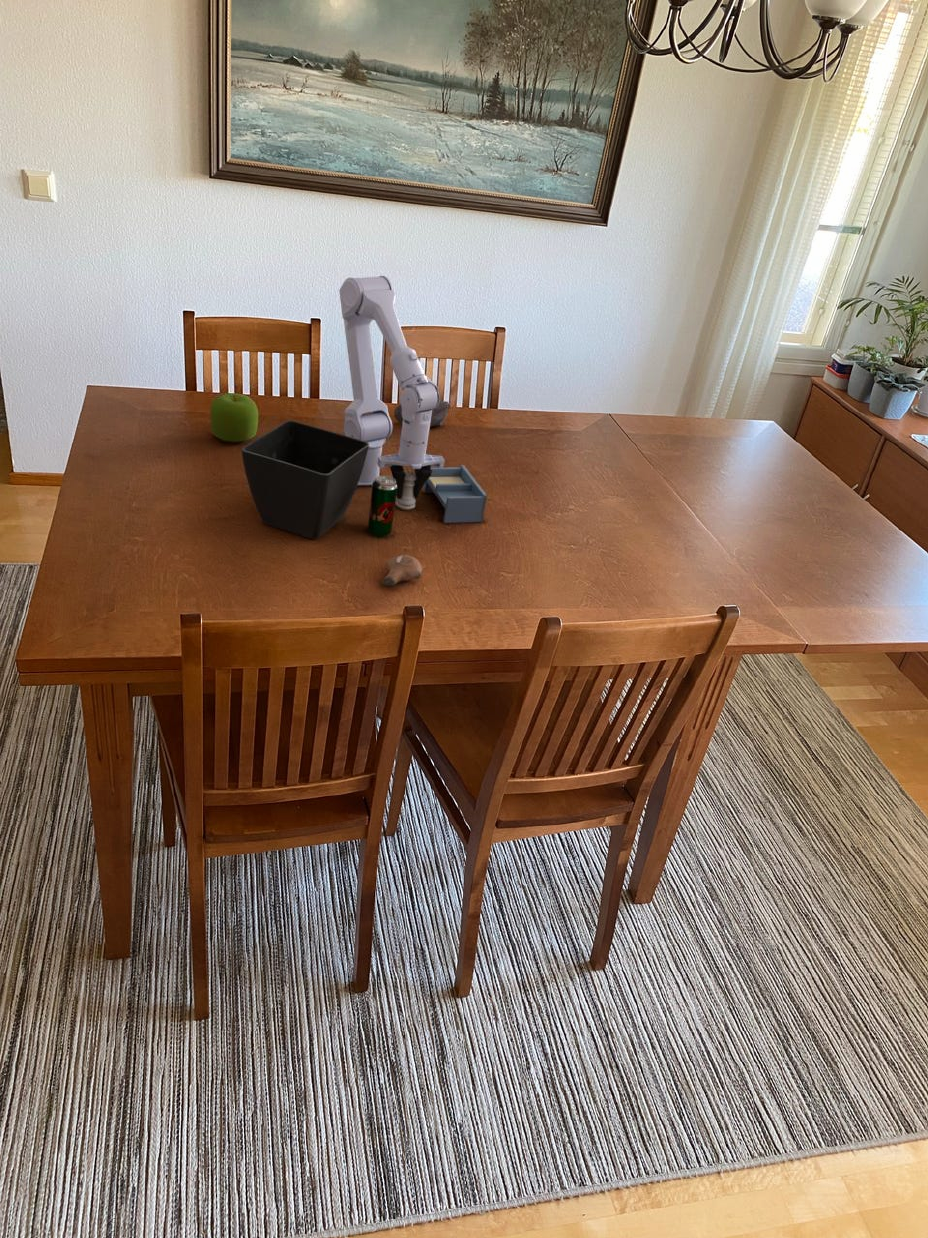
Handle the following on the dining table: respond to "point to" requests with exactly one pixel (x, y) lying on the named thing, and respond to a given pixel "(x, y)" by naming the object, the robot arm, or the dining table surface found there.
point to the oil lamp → (402, 570)
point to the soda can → (382, 506)
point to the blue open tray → (457, 494)
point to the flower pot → (303, 476)
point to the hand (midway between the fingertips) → (406, 496)
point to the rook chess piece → (407, 492)
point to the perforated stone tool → (436, 416)
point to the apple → (233, 417)
